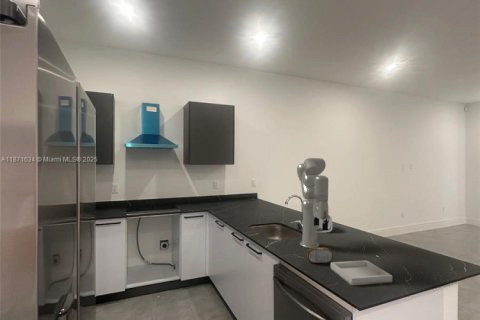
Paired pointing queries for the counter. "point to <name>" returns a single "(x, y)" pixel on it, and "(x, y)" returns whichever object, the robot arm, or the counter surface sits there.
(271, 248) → the counter surface
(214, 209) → the counter surface
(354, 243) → the counter surface
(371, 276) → the white tray
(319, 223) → the bowl
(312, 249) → the tin
